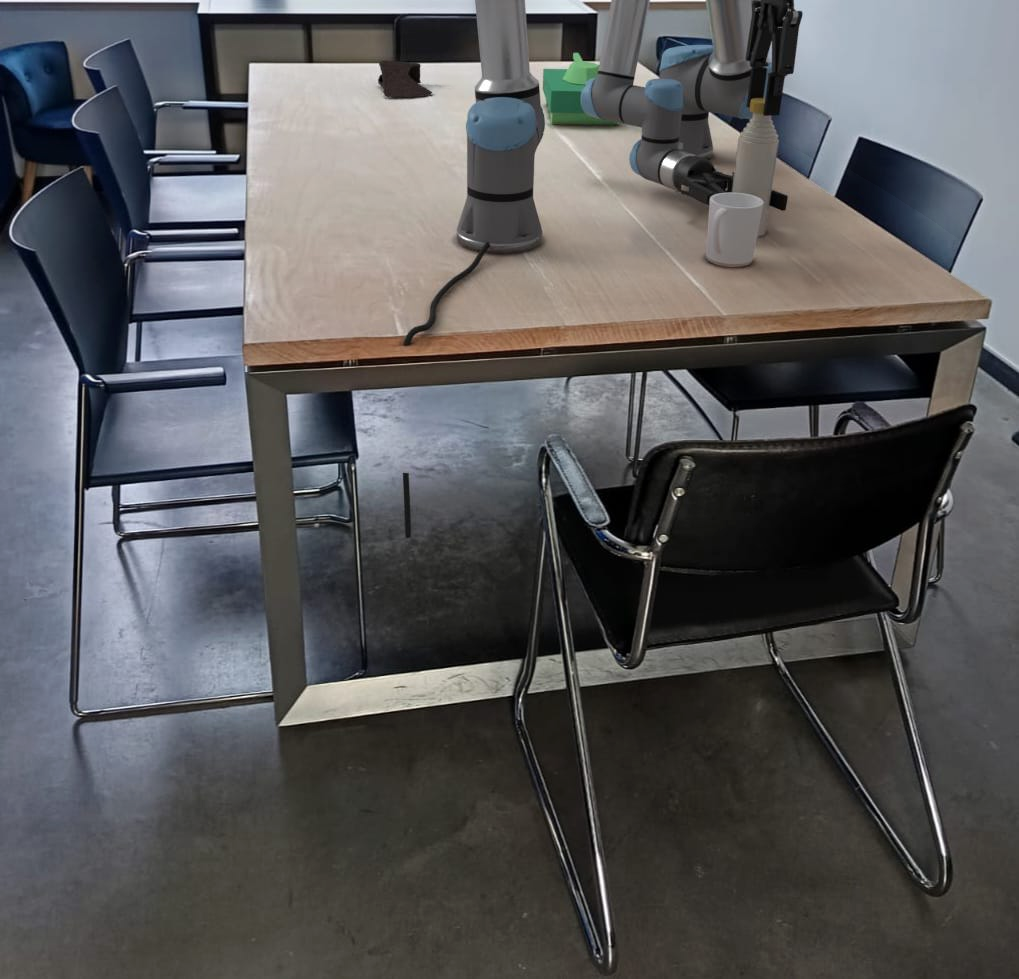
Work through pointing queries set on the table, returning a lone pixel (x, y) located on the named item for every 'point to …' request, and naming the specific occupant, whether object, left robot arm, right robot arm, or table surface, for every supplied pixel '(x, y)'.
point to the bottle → (756, 162)
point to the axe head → (401, 79)
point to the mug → (733, 228)
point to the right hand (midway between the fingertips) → (768, 206)
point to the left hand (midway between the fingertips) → (762, 110)
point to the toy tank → (570, 93)
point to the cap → (757, 105)
